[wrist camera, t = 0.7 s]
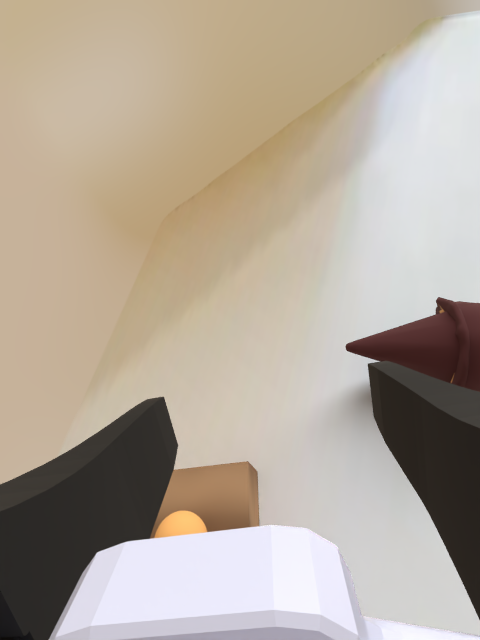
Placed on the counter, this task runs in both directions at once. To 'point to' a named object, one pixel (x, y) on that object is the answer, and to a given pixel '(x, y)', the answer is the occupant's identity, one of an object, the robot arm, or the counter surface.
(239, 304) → the counter surface
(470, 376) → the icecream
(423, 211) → the counter surface
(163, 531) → the ball
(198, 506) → the board
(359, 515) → the counter surface
